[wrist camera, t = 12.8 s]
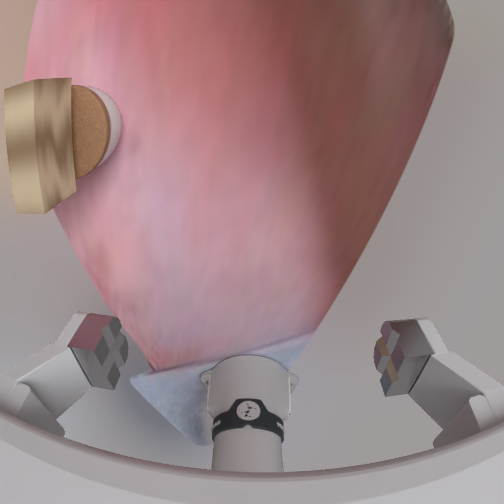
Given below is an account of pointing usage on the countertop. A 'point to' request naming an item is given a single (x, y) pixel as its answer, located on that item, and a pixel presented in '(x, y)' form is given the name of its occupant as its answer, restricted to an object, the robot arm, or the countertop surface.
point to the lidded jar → (93, 127)
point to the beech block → (40, 143)
